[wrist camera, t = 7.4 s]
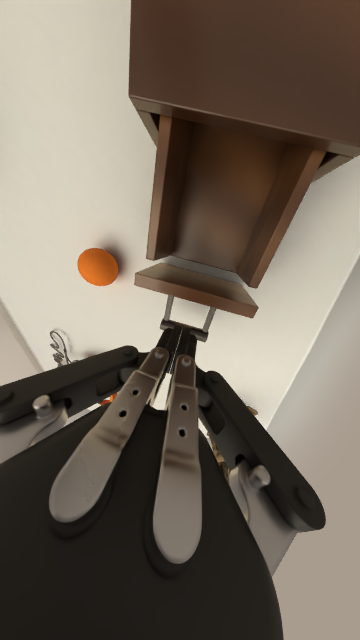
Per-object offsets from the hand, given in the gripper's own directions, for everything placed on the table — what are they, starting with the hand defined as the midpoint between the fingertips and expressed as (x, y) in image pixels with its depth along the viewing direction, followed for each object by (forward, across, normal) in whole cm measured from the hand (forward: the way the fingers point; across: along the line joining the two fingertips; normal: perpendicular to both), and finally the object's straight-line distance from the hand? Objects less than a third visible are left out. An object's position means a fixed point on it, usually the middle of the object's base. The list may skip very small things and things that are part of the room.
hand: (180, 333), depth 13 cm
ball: (+8, +14, -1) cm, 16 cm away
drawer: (+10, 0, -7) cm, 12 cm away
